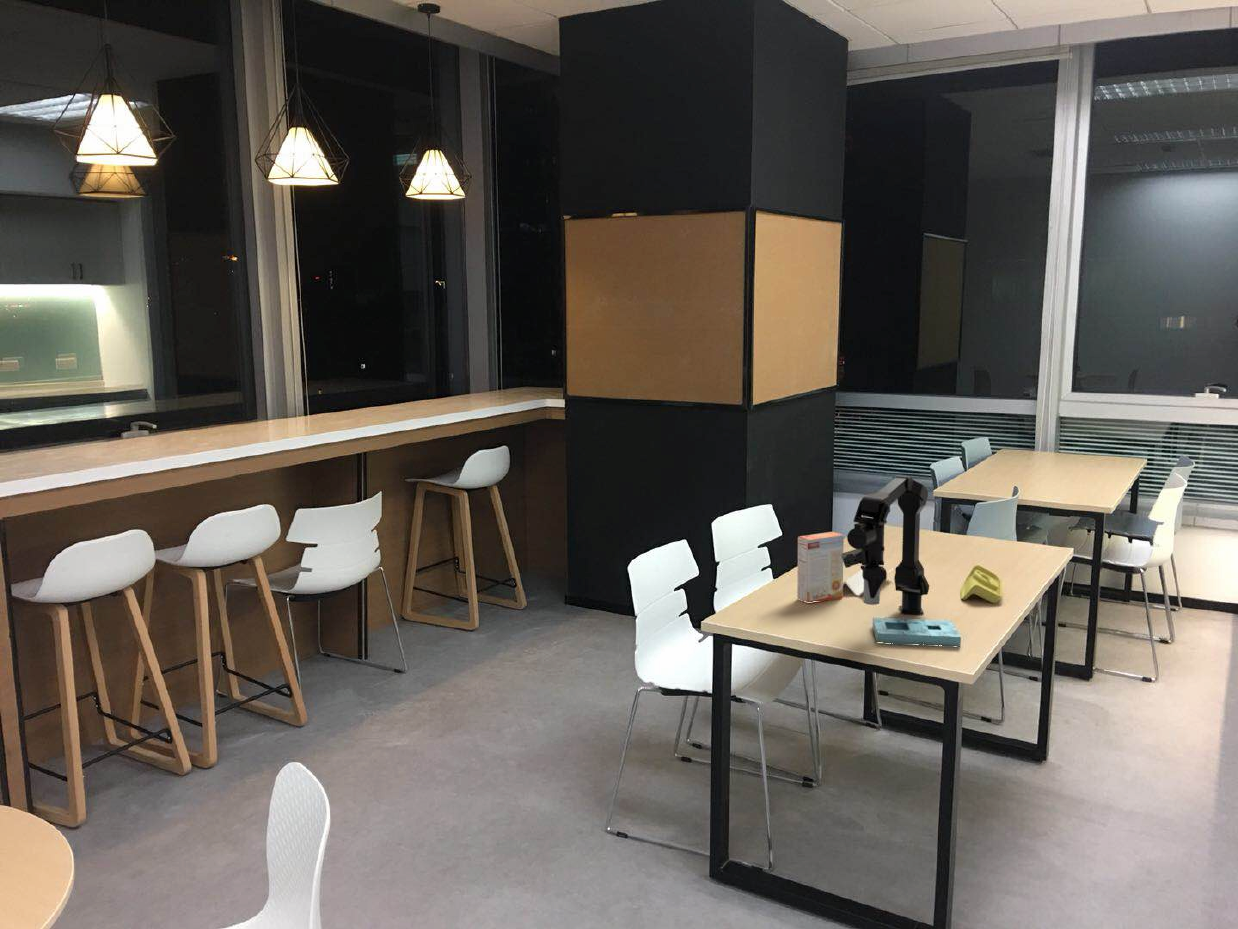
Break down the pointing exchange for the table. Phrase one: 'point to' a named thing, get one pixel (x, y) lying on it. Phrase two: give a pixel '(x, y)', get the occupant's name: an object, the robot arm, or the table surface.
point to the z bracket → (857, 583)
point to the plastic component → (982, 585)
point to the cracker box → (820, 567)
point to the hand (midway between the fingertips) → (871, 595)
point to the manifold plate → (916, 631)
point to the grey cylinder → (867, 595)
